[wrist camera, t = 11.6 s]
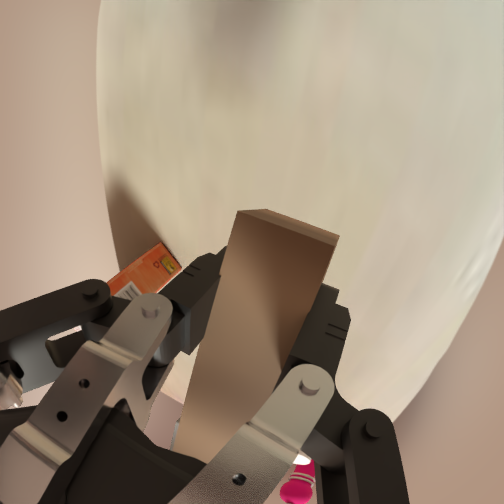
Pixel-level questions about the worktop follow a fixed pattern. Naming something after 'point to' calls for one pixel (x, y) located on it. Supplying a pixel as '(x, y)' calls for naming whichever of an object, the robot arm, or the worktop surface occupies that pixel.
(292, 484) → the pepper mill
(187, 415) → the tan flat bar
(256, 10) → the worktop surface
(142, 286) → the cracker box
